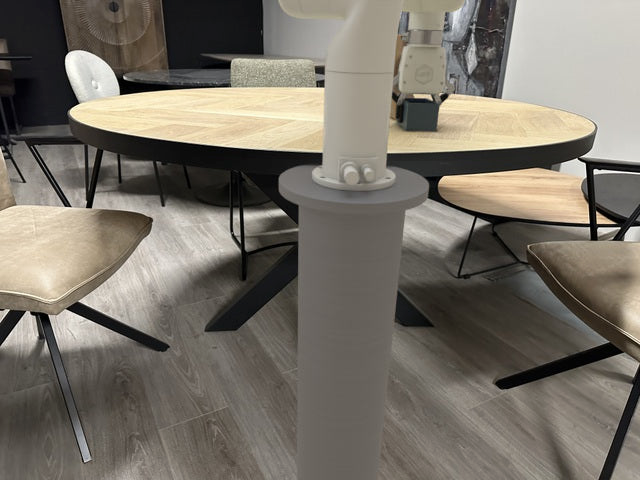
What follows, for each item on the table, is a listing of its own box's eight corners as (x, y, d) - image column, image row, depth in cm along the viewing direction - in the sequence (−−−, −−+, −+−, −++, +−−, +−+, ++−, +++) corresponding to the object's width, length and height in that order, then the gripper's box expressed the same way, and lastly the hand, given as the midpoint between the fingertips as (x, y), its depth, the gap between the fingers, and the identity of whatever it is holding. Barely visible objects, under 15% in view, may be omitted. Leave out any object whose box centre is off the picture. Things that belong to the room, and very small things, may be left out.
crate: (436, 131, 105) (439, 104, 103) (405, 131, 105) (408, 103, 103) (424, 123, 116) (427, 98, 113) (396, 122, 115) (398, 97, 113)
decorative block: (416, 120, 119) (425, 34, 111) (394, 120, 118) (402, 34, 111) (402, 114, 129) (410, 34, 122) (382, 113, 129) (389, 34, 121)
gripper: (388, 38, 99) (381, 124, 106) (469, 40, 100) (457, 125, 107) (382, 38, 106) (376, 119, 113) (458, 40, 107) (448, 120, 114)
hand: (416, 121), depth 110 cm, fingers closed on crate, 7 cm apart
